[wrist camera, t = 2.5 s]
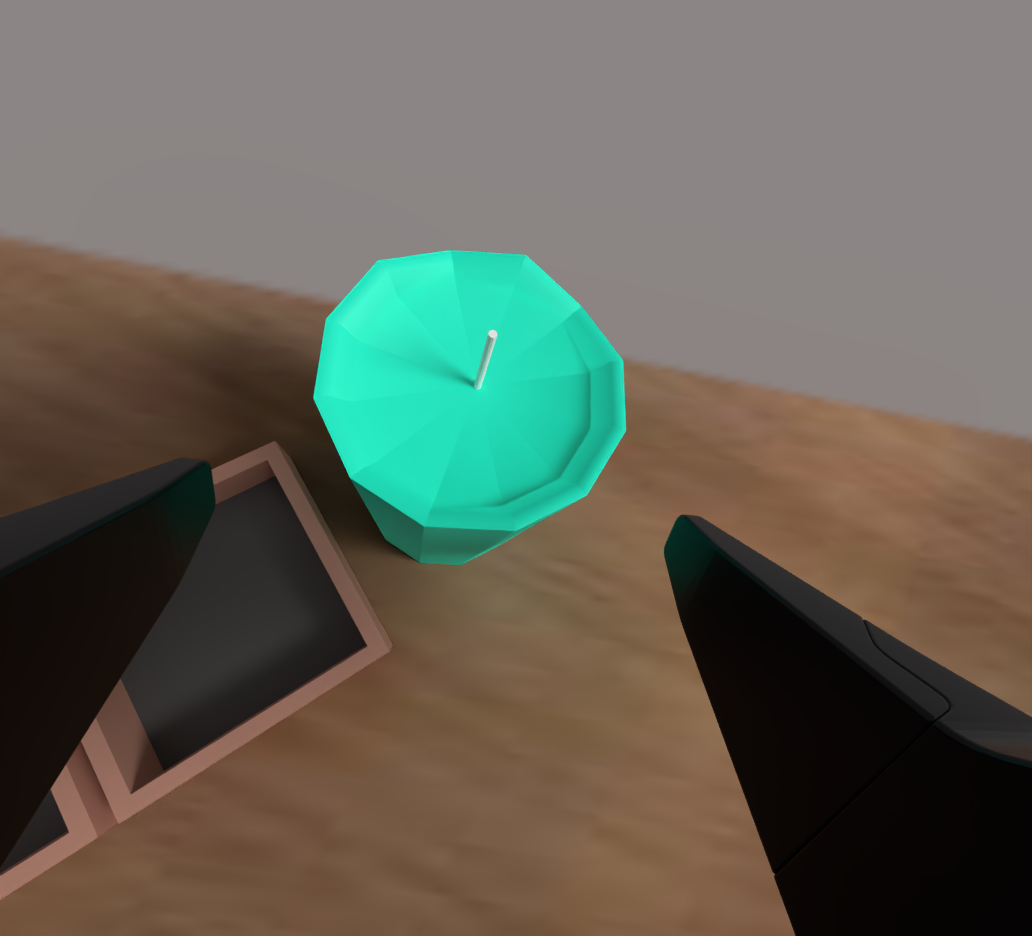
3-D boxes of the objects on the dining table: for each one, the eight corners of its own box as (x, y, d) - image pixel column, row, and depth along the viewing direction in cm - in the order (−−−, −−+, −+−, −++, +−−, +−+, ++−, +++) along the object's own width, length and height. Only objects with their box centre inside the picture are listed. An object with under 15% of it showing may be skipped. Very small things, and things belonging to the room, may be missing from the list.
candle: (534, 549, 19) (711, 484, 8) (380, 582, 18) (315, 562, 6) (503, 410, 20) (616, 175, 9) (357, 429, 19) (267, 178, 7)
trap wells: (-196, 1018, 12) (-309, 1096, 10) (-296, 732, 13) (-417, 755, 11) (392, 644, 17) (389, 651, 15) (289, 456, 18) (275, 440, 16)
